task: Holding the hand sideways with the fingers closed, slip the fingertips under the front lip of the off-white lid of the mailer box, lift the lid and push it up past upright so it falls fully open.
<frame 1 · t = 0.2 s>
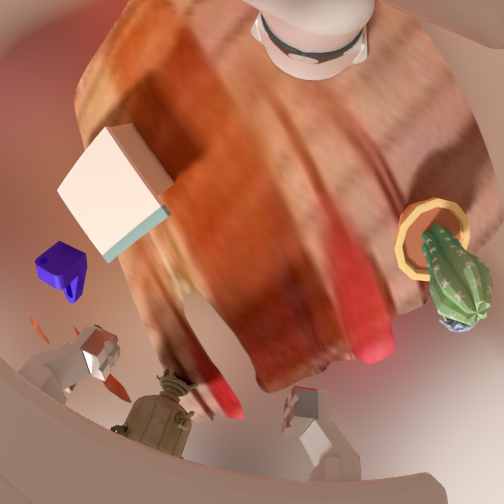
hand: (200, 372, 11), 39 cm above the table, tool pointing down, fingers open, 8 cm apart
potted cactus: (418, 223, 44), on the table
mailer box: (124, 178, 50), on the table
lid: (105, 200, 43), point 8 cm above the table, hinge at 0.0°
bracket: (75, 272, 67), on the table
samovar: (183, 381, 82), on the table
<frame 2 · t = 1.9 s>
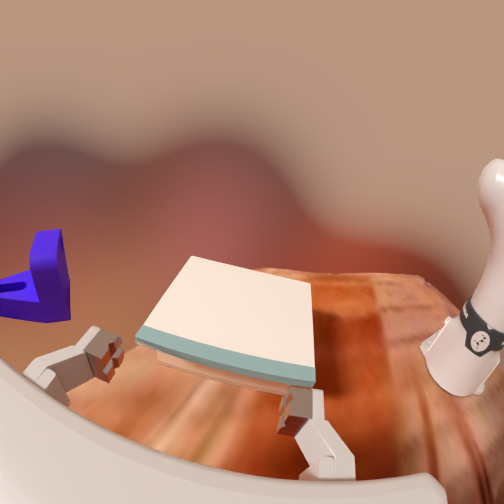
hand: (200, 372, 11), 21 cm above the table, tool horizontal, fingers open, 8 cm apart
mailer box: (232, 344, 39), on the table
lid: (238, 310, 34), point 8 cm above the table, hinge at 0.0°
bracket: (27, 305, 34), on the table
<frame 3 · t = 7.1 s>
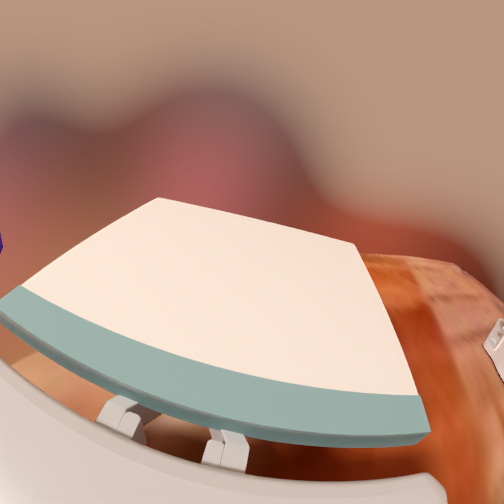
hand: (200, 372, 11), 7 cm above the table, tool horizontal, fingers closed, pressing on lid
lid: (231, 274, 16), point 9 cm above the table, hinge at 0.9°, touching gripper
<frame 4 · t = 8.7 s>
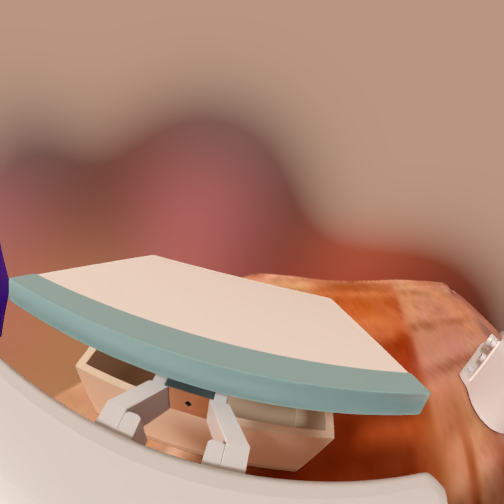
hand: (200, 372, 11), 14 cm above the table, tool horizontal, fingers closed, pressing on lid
mailer box: (212, 389, 24), on the table
lid: (225, 304, 18), point 12 cm above the table, hinge at 22.7°, touching gripper
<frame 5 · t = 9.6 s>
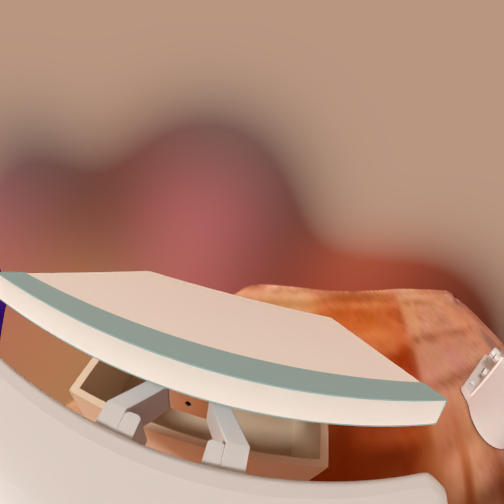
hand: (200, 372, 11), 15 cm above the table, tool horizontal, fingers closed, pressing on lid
mailer box: (208, 408, 23), on the table
lid: (223, 319, 17), point 13 cm above the table, hinge at 28.9°, touching gripper
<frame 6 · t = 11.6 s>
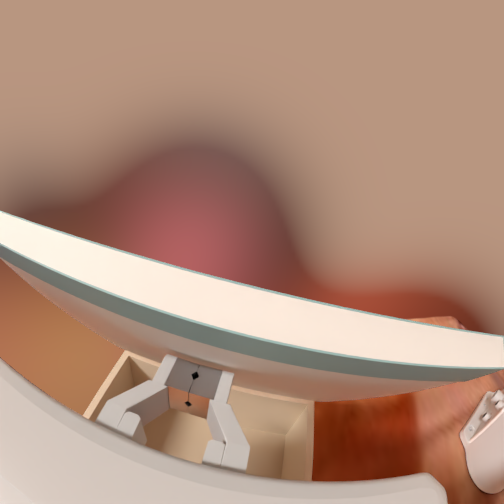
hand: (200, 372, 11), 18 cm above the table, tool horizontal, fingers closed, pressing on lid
mailer box: (192, 474, 19), on the table
lid: (210, 360, 14), point 17 cm above the table, hinge at 57.6°, touching gripper
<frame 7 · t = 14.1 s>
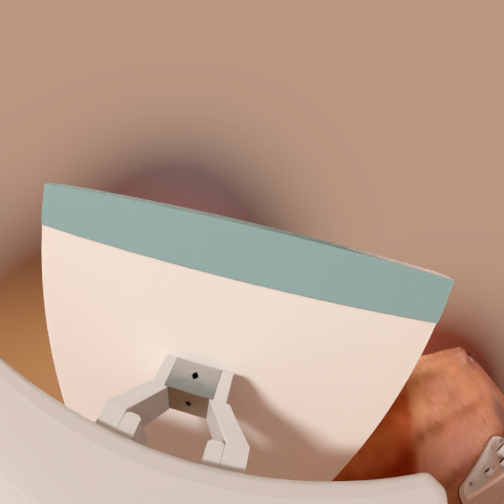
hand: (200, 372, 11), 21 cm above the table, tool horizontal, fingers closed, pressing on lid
lid: (197, 405, 12), point 18 cm above the table, hinge at 103.4°, touching gripper
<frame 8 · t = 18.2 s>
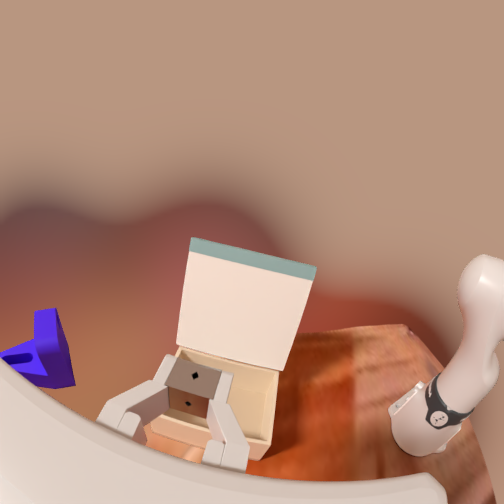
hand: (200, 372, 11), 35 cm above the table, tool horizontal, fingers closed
mailer box: (214, 414, 41), on the table
lid: (240, 309, 42), point 18 cm above the table, hinge at 103.4°
bracket: (34, 370, 36), on the table
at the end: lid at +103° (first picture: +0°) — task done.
